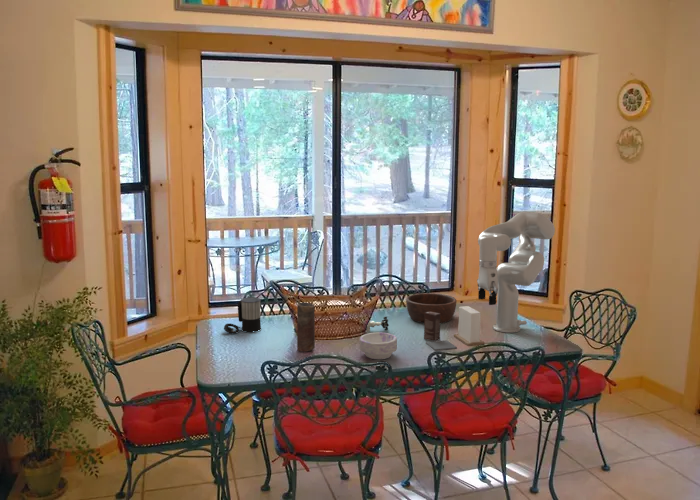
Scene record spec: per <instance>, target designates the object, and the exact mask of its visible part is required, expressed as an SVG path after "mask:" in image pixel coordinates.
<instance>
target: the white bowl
mask: <svg viewBox="0 0 700 500" xmlns="http://www.w3.org/2000/svg"><path fill="white" fill-rule="evenodd" d="M397 349H398V338H397V336H396V335H395V334H392V333H387V332H381V331H379V332H367V333H365V334H363V335H361V336H360V337H359V350H360V351H361V352H363V353H364V355H365V356H366V357H367V358H368V359H371V360H386V359H389V358H391V356H392V354H393V353H395V352H396V351H397Z"/></svg>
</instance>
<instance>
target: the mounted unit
mask: <svg viewBox="0 0 700 500" xmlns="http://www.w3.org/2000/svg"><path fill="white" fill-rule="evenodd" d="M481 315H482V314H481V312H480V311H478V310H477V309H474V308H473V307H470V306H469V305H467V306H464V305H463V306H459V307H458V331H457V333H456V334H453V338H455V339H456V340H458V341H460V342H461V343H462V344H464V345H465V346H467V347H469V346H470V347H471V346H482V345H481V344H484V345H485V341H483V340H482V339H481V317H482V316H481Z"/></svg>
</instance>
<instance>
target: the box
mask: <svg viewBox="0 0 700 500" xmlns="http://www.w3.org/2000/svg"><path fill="white" fill-rule="evenodd" d="M423 325H424V326H423V339H424V340H428V341H431V342H433V341H440V339H441V323H440V313H435V312H426V313H425V317H424V324H423Z"/></svg>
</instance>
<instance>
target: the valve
mask: <svg viewBox="0 0 700 500" xmlns="http://www.w3.org/2000/svg"><path fill="white" fill-rule="evenodd" d="M378 326H379V327H380V326H382V328H383V329H384V331H388V330H389V326H390V325H389V319H388V316H383V320H381V321H376V322H375V321H374V320H370V321H369V323H368V325H367V330H366V331H367V332H366V333H371V328H375V327H378Z"/></svg>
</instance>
